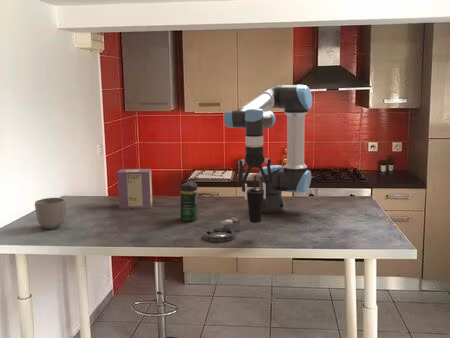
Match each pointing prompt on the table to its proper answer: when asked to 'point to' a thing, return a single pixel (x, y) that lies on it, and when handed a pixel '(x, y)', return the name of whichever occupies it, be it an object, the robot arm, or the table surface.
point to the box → (135, 188)
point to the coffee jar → (189, 201)
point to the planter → (51, 212)
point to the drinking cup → (255, 203)
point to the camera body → (230, 224)
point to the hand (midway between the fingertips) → (255, 198)
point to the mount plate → (219, 234)
